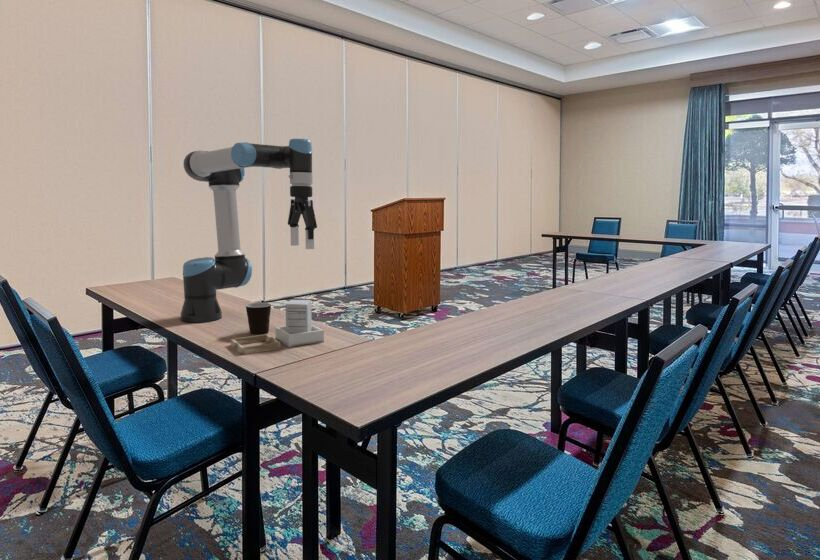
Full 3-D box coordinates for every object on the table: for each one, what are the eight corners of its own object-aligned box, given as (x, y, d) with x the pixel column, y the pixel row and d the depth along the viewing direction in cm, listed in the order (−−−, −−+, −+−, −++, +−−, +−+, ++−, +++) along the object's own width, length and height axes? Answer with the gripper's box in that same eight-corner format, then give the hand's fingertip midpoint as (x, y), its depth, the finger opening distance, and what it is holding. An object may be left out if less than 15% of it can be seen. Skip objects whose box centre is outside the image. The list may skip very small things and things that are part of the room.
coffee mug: (265, 336, 185) (264, 308, 184) (242, 334, 187) (241, 306, 186) (279, 328, 197) (278, 301, 195) (257, 327, 198) (257, 300, 197)
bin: (275, 338, 183) (275, 327, 182) (309, 333, 189) (308, 322, 189) (289, 347, 173) (288, 335, 172) (323, 341, 179) (323, 330, 179)
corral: (230, 345, 174) (230, 339, 174) (267, 339, 181) (267, 334, 181) (242, 354, 164) (242, 348, 164) (280, 348, 171) (280, 342, 171)
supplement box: (290, 335, 185) (290, 299, 183) (312, 335, 185) (311, 299, 183) (285, 341, 177) (284, 303, 175) (308, 341, 177) (307, 304, 175)
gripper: (277, 185, 192) (279, 244, 195) (305, 185, 172) (306, 251, 175) (297, 185, 196) (298, 243, 200) (326, 185, 176) (327, 250, 179)
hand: (302, 247), depth 187 cm, fingers open, 13 cm apart
